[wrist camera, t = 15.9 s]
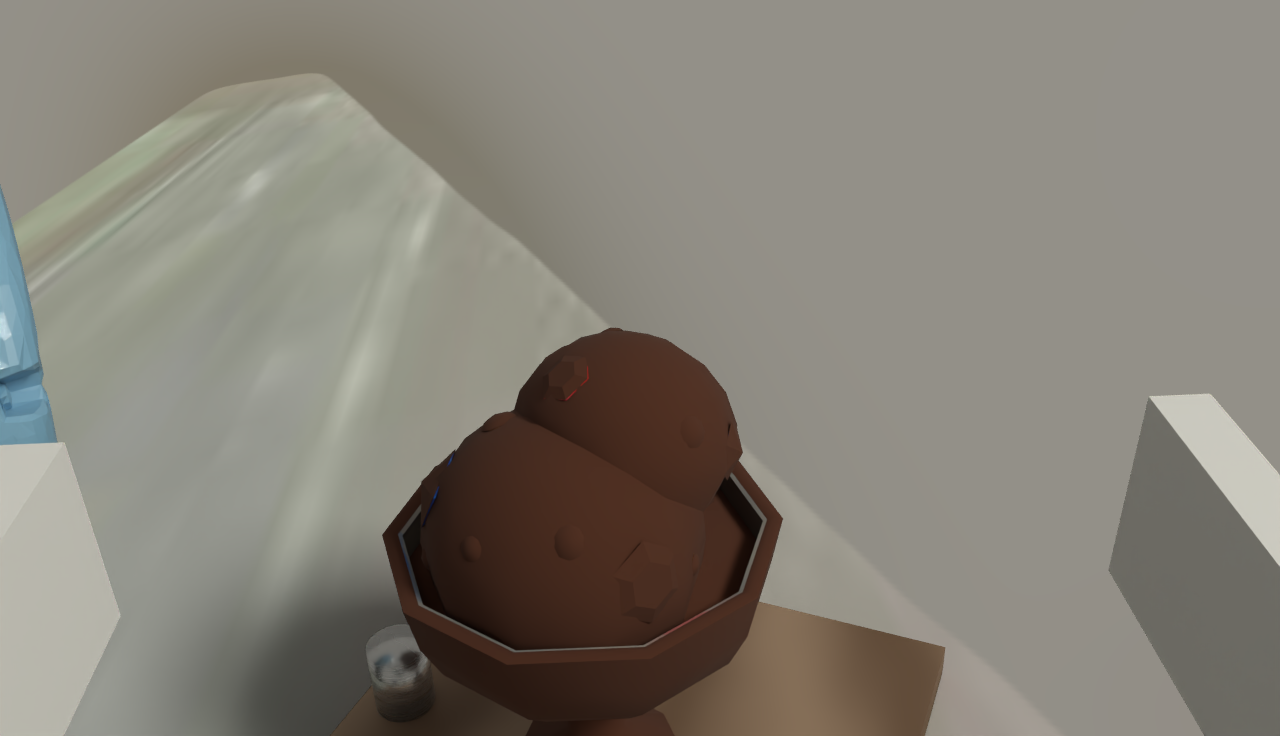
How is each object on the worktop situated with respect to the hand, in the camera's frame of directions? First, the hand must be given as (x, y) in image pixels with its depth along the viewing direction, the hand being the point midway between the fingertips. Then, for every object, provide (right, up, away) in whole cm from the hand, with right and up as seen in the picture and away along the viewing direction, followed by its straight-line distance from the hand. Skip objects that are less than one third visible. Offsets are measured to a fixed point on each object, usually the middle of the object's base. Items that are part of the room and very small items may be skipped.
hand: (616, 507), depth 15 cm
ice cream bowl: (-1, -11, +23) cm, 26 cm away
